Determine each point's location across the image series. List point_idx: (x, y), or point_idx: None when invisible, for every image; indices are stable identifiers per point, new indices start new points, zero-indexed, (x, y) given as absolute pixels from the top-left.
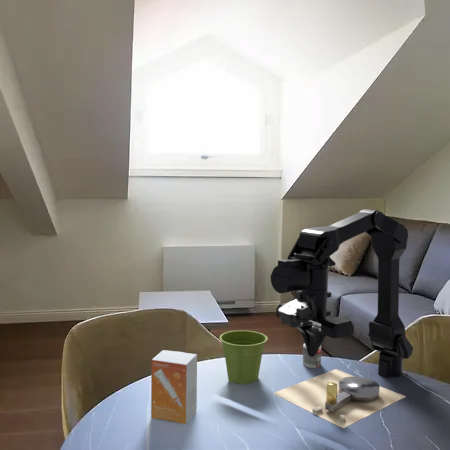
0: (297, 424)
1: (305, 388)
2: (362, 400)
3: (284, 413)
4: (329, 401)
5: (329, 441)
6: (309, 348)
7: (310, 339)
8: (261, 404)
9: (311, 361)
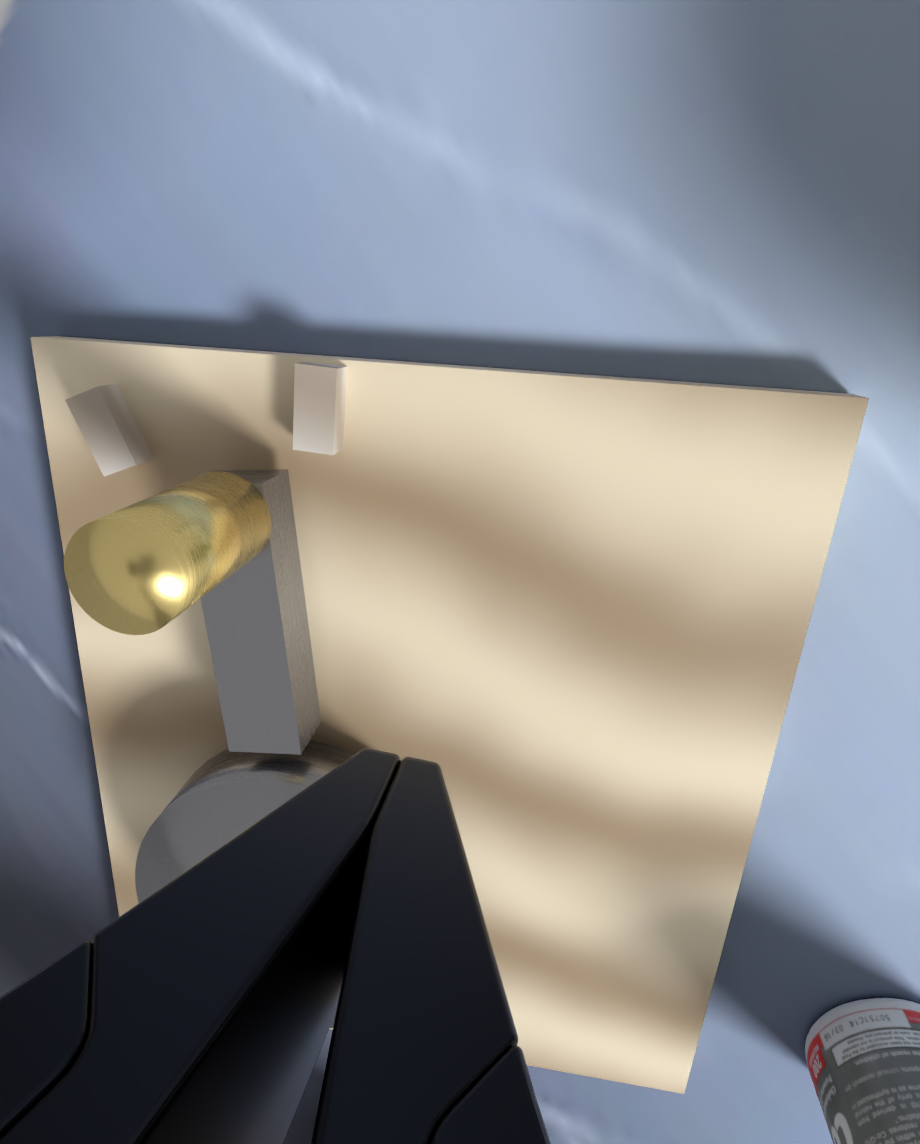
0: (354, 145)
1: (668, 693)
2: (197, 770)
3: (564, 218)
4: (195, 477)
5: (21, 135)
6: (335, 859)
7: (46, 1140)
8: (858, 177)
9: (883, 1082)
